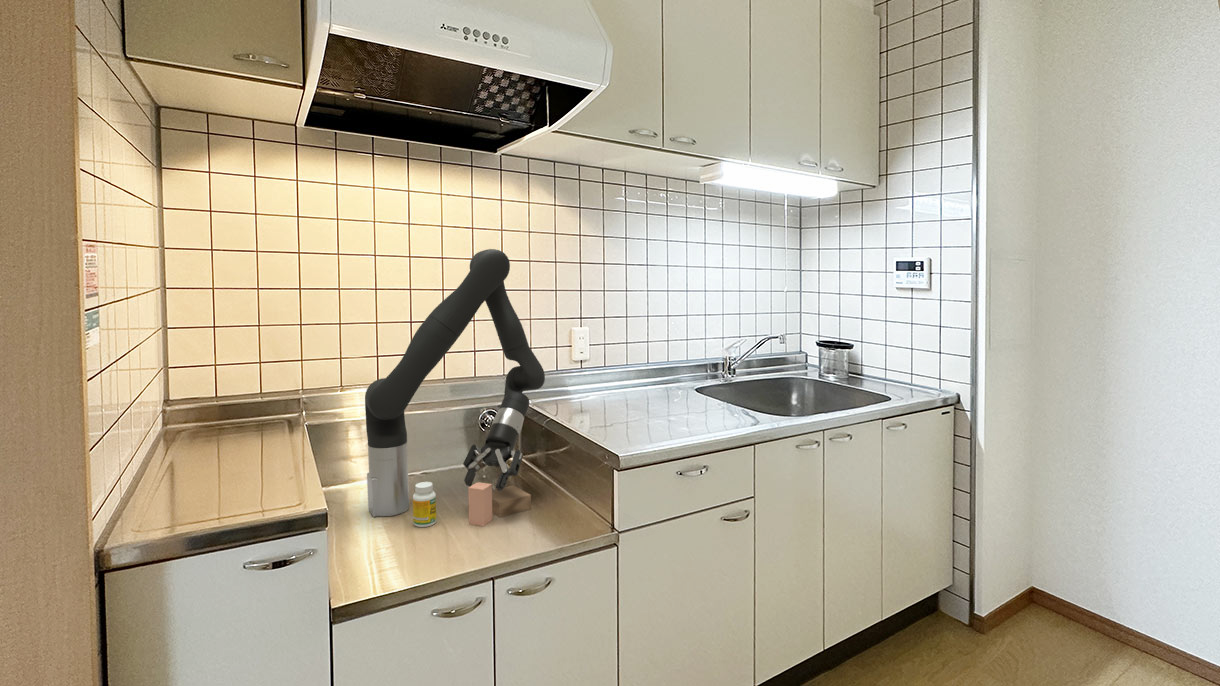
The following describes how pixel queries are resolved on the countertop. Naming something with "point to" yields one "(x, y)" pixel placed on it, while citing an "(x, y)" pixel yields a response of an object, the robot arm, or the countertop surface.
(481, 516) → the salmon pink block
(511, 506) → the walnut block
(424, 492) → the supplement bottle
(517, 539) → the countertop surface
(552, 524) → the countertop surface
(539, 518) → the countertop surface
